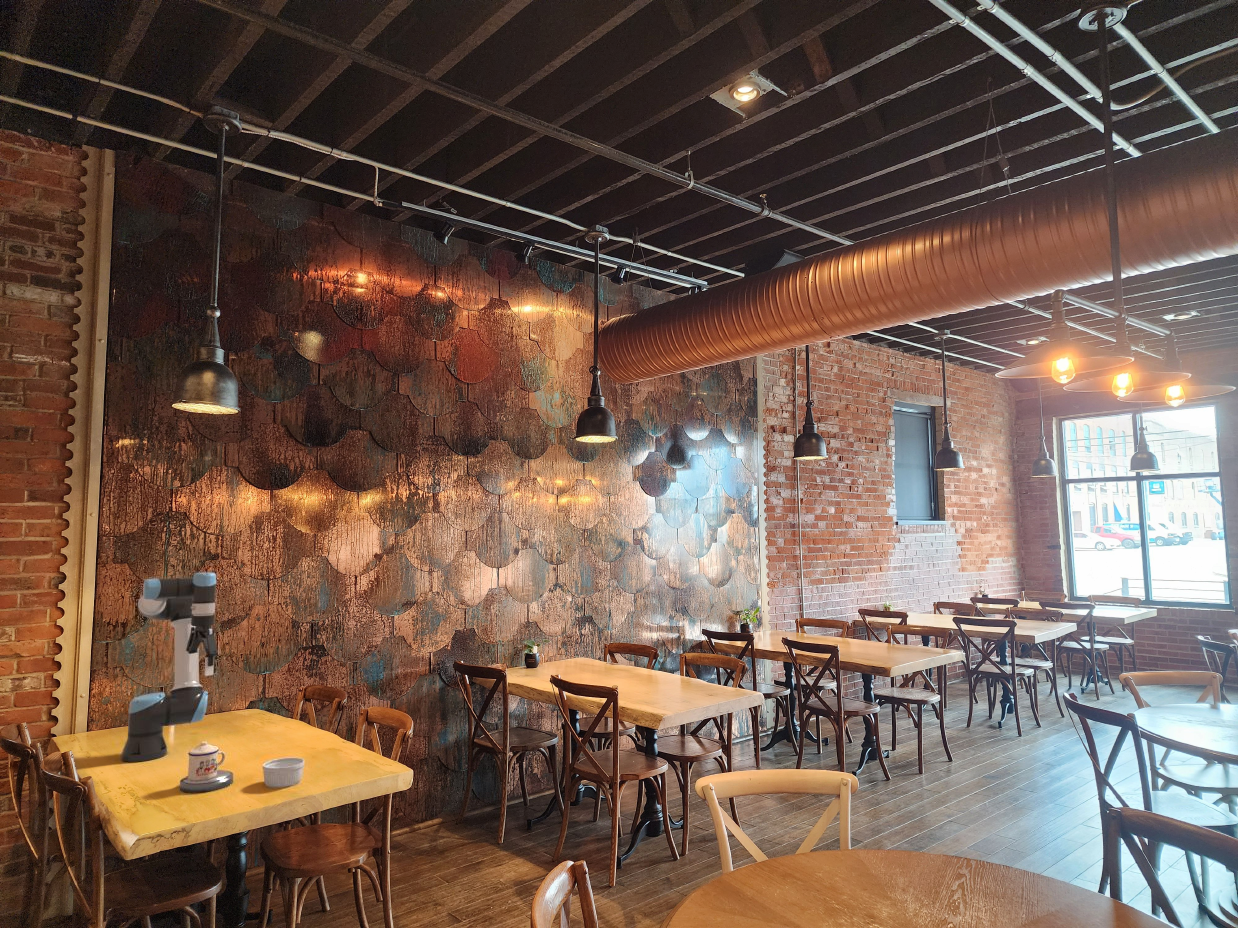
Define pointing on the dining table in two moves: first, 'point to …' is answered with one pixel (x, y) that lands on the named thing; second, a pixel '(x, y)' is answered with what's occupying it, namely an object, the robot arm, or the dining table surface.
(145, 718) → the robot arm
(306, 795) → the dining table surface
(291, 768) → the ramekin
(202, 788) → the dark gray round plate
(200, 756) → the teacup with lid
